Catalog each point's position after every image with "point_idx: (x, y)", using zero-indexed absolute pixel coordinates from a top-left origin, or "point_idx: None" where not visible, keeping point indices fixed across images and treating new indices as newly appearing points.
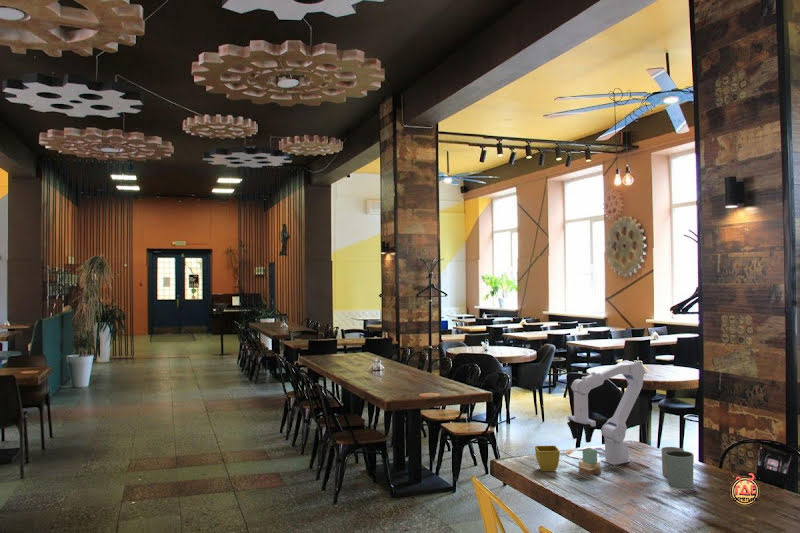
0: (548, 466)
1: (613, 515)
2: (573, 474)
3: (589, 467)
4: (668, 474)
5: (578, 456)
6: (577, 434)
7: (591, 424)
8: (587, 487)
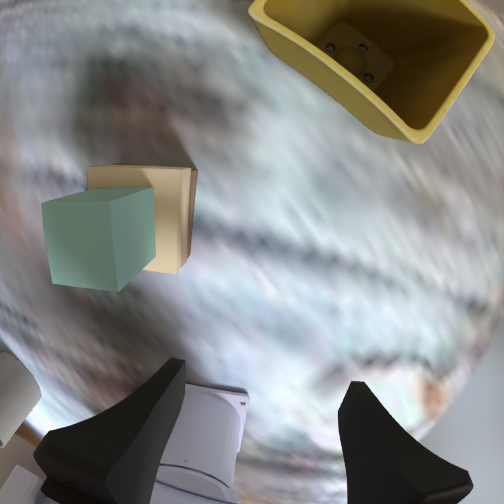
0: (313, 15)
1: None
2: (183, 101)
3: (98, 166)
4: None
5: (373, 385)
6: (342, 439)
7: (16, 485)
8: (41, 34)
